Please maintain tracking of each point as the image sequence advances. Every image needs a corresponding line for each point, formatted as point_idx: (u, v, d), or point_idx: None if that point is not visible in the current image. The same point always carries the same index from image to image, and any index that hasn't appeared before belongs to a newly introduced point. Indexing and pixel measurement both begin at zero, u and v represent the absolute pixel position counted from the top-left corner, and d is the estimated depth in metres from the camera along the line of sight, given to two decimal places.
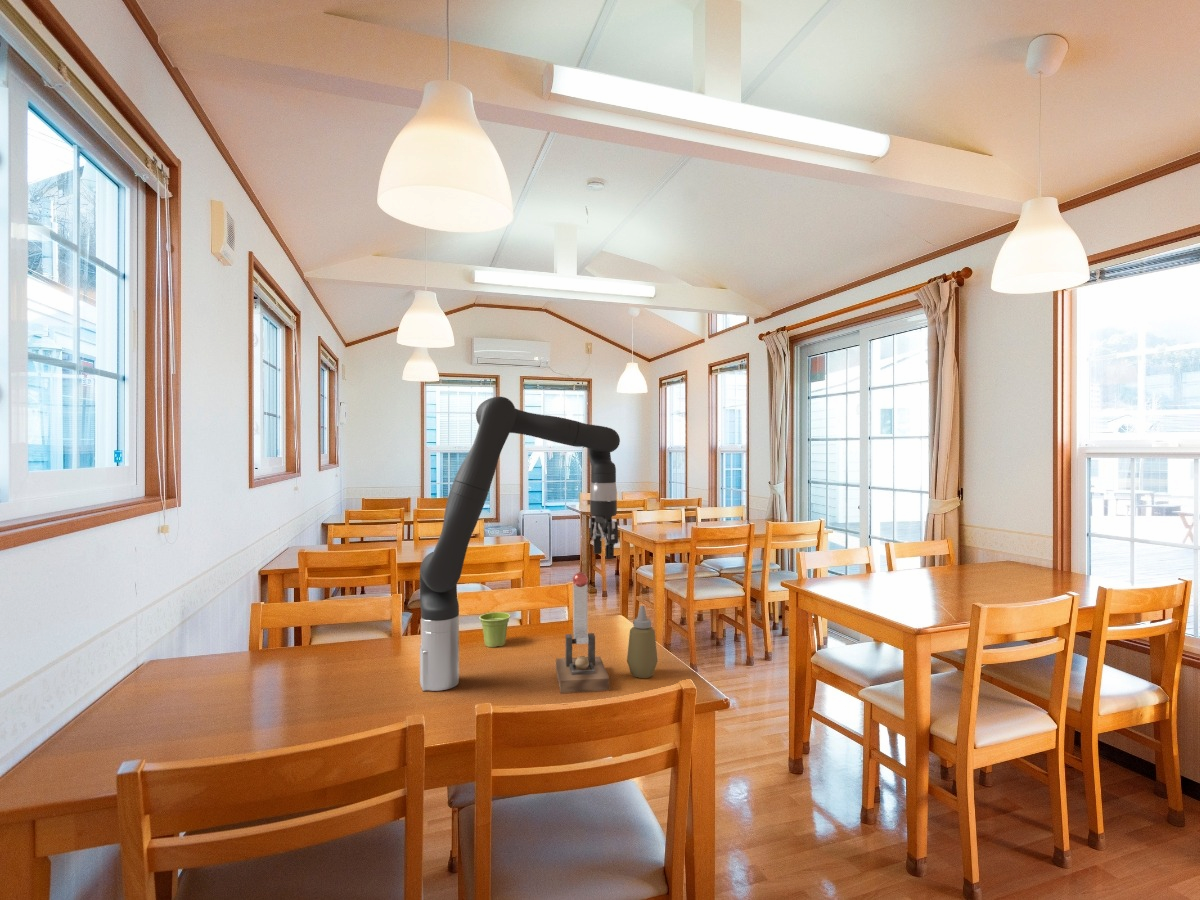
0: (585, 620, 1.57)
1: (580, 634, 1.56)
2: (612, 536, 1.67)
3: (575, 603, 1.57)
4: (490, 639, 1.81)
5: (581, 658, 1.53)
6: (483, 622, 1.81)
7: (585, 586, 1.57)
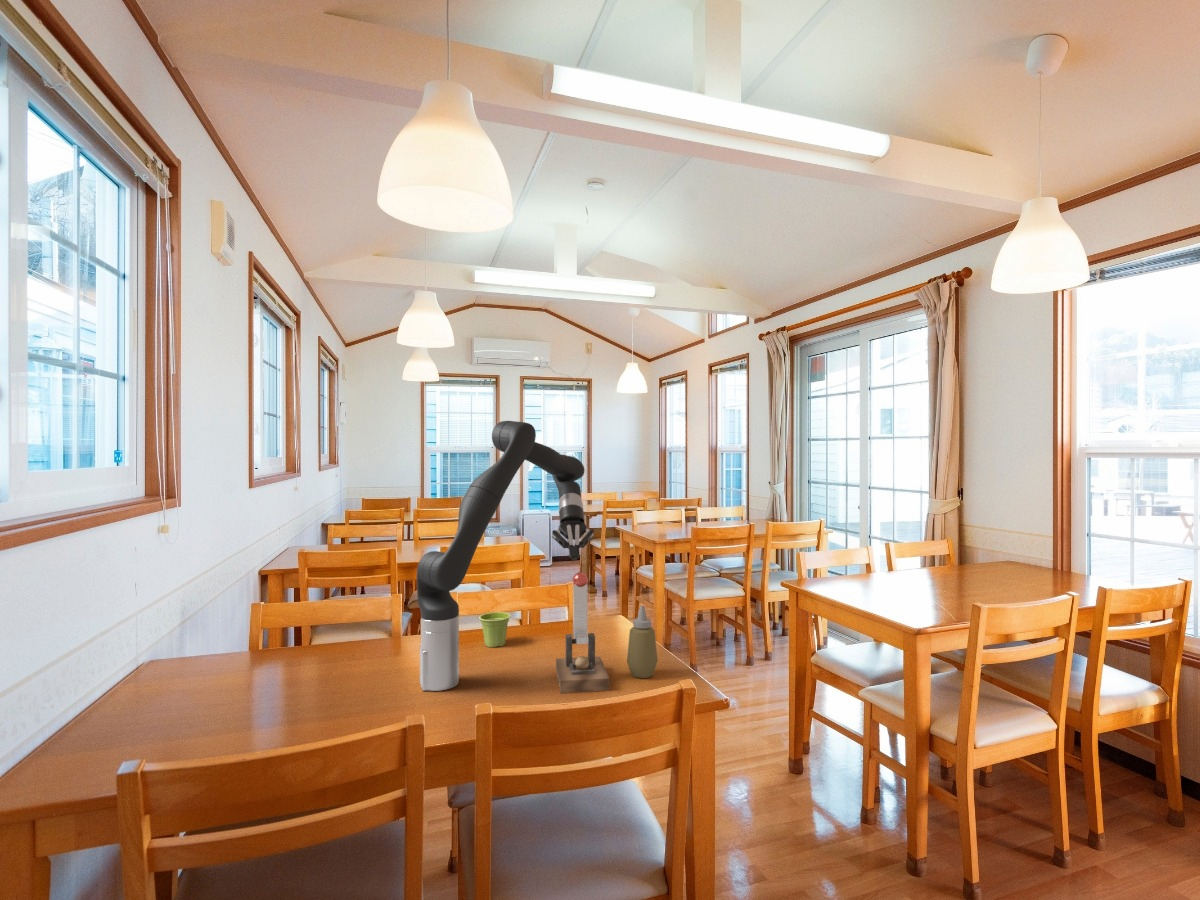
0: (585, 620, 1.57)
1: (580, 634, 1.56)
2: None
3: (575, 603, 1.57)
4: (490, 639, 1.81)
5: (581, 658, 1.53)
6: (483, 622, 1.81)
7: (585, 586, 1.57)
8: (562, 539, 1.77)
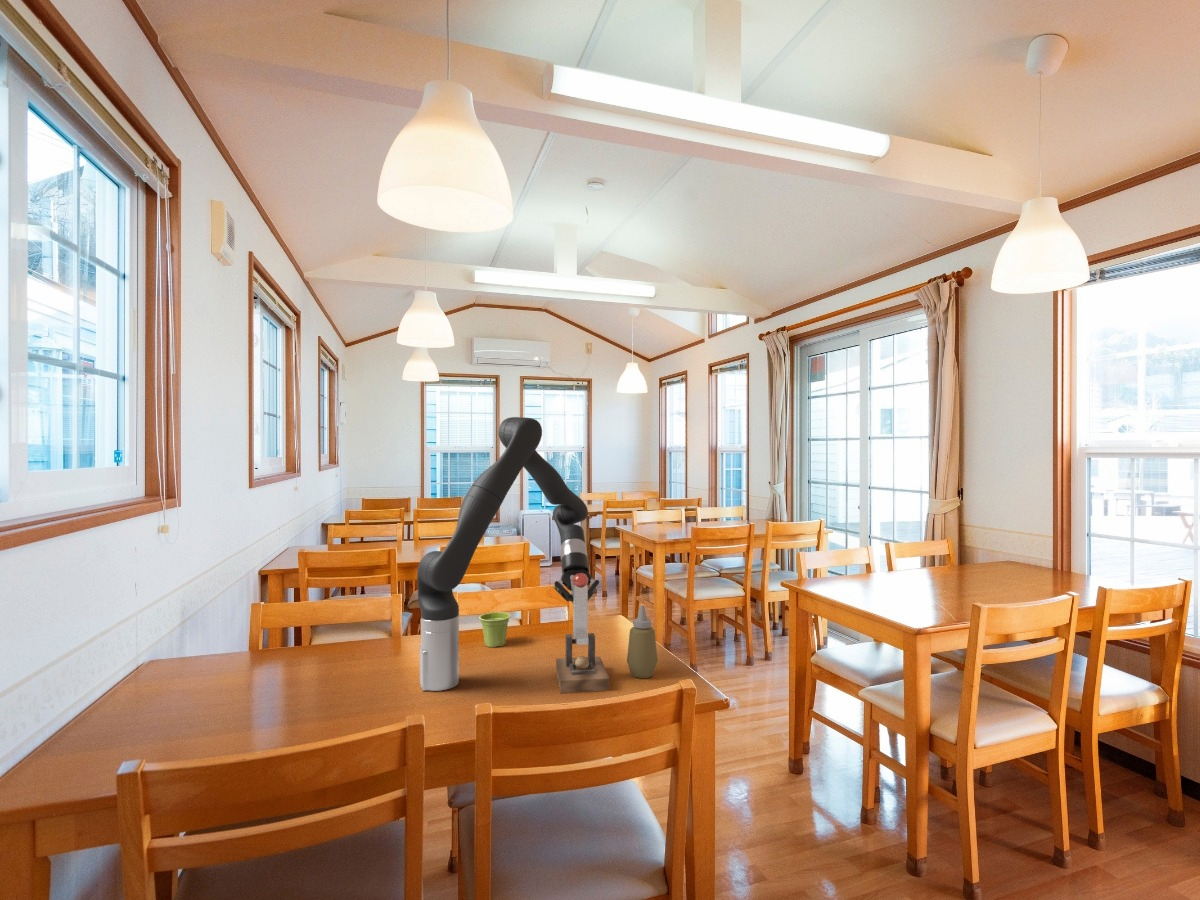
0: (585, 620, 1.57)
1: (580, 634, 1.56)
2: None
3: (575, 604, 1.57)
4: (490, 639, 1.81)
5: (581, 658, 1.53)
6: (483, 622, 1.81)
7: (585, 587, 1.57)
8: (565, 592, 1.63)
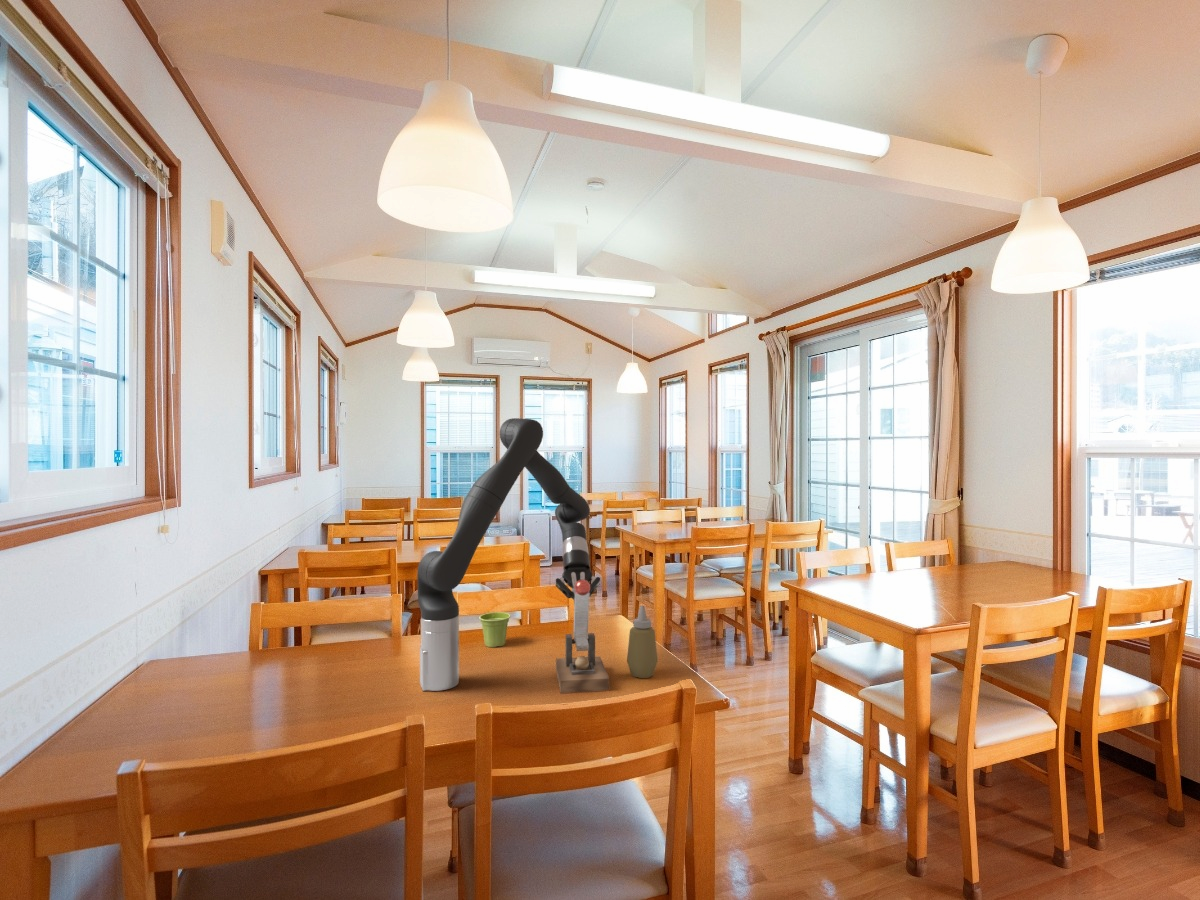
0: (585, 624, 1.56)
1: (581, 637, 1.56)
2: None
3: (576, 610, 1.54)
4: (490, 639, 1.81)
5: (581, 658, 1.53)
6: (483, 622, 1.81)
7: (587, 594, 1.53)
8: (566, 588, 1.64)
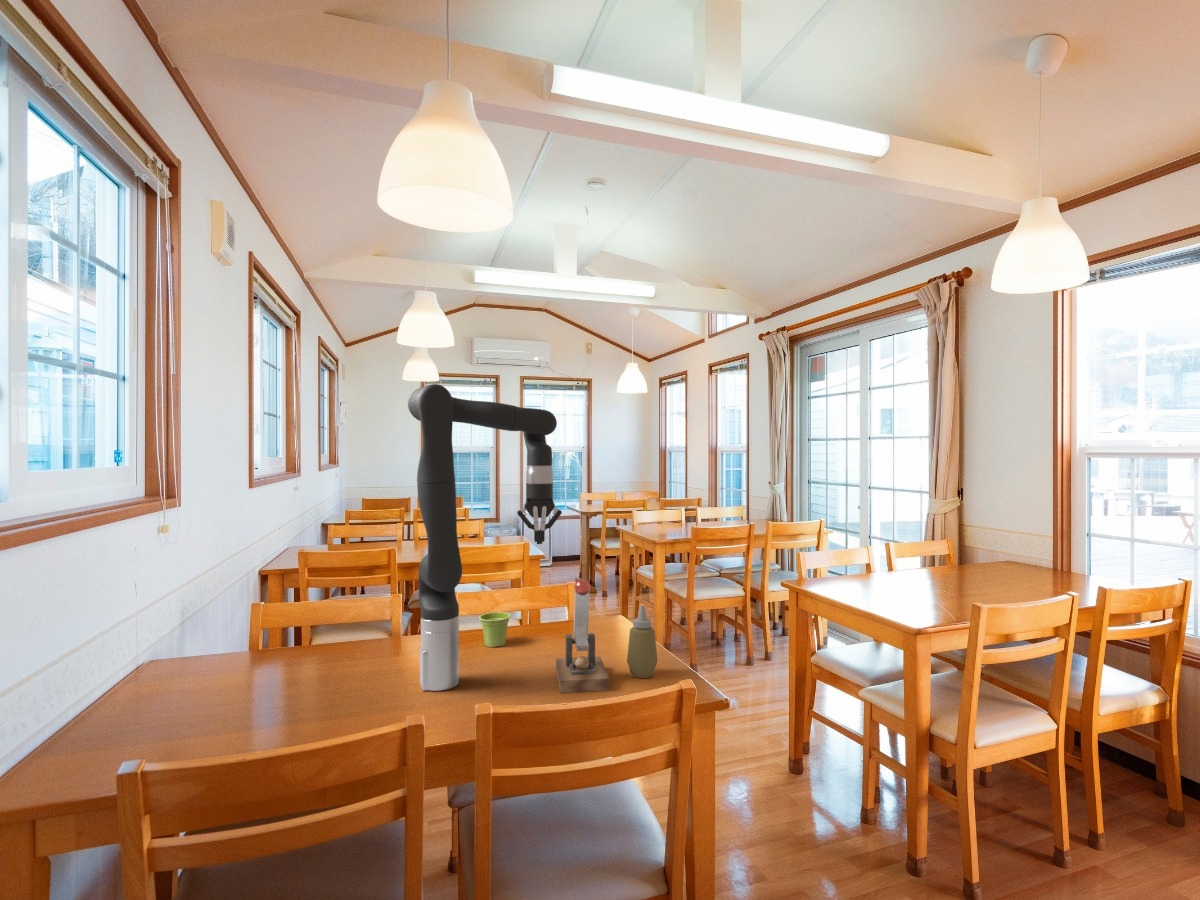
0: (585, 624, 1.56)
1: (581, 637, 1.56)
2: None
3: (576, 610, 1.54)
4: (490, 639, 1.81)
5: (581, 658, 1.53)
6: (483, 622, 1.81)
7: (587, 594, 1.53)
8: (527, 523, 1.67)
